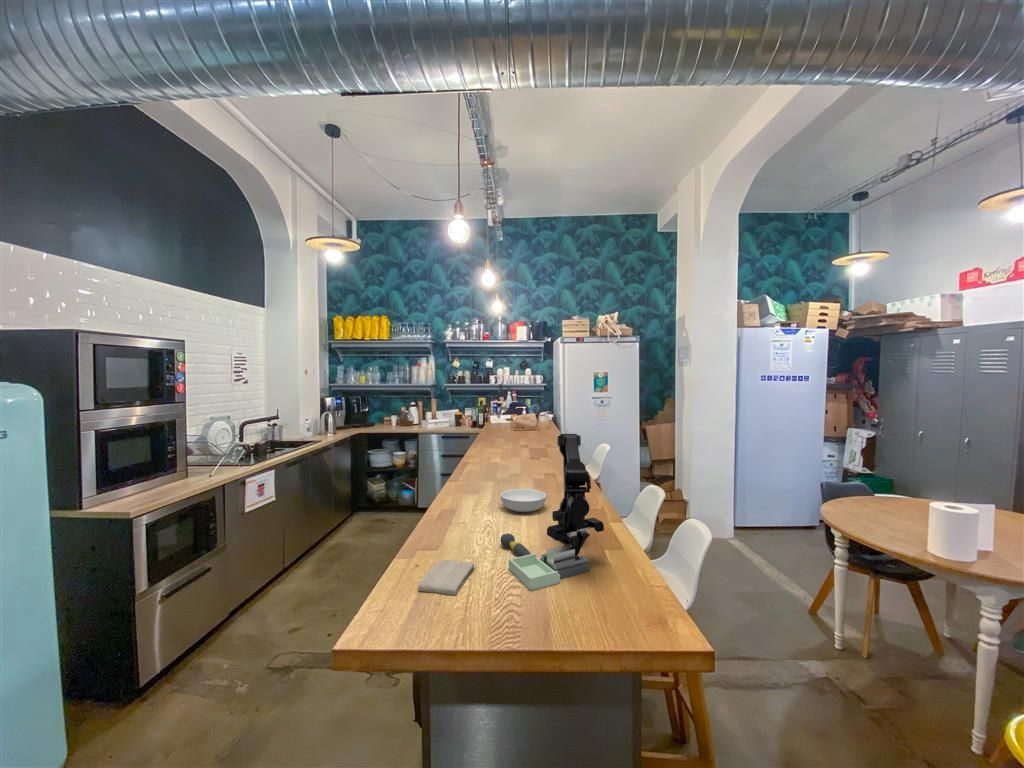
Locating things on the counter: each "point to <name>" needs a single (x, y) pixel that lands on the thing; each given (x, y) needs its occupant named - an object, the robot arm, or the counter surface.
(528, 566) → the chip tray
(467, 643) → the counter surface
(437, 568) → the washcloth
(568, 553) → the grey cube
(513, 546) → the paintbrush
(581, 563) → the slot board
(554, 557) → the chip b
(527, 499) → the serving bowl
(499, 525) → the counter surface
